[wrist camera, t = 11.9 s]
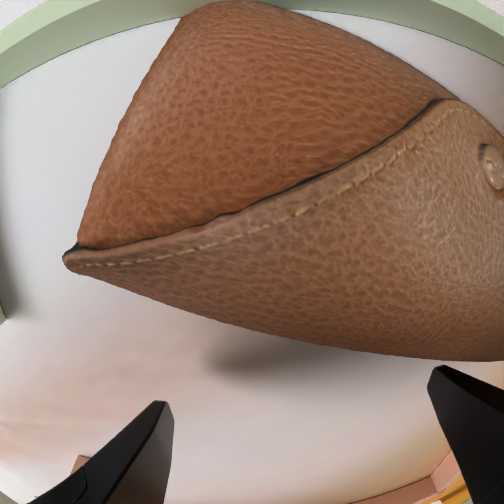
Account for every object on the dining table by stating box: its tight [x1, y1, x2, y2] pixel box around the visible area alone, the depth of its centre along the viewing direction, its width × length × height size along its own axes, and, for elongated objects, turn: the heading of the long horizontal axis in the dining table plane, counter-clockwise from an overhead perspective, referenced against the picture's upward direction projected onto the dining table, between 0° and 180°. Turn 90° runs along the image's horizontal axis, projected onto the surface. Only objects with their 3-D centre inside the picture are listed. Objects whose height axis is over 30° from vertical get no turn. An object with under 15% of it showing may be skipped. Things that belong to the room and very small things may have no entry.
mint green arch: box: [0, 0, 504, 325], centre depth 6 cm, size 10×26×2 cm, turn 94°
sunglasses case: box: [62, 0, 504, 362], centre depth 7 cm, size 18×7×7 cm
